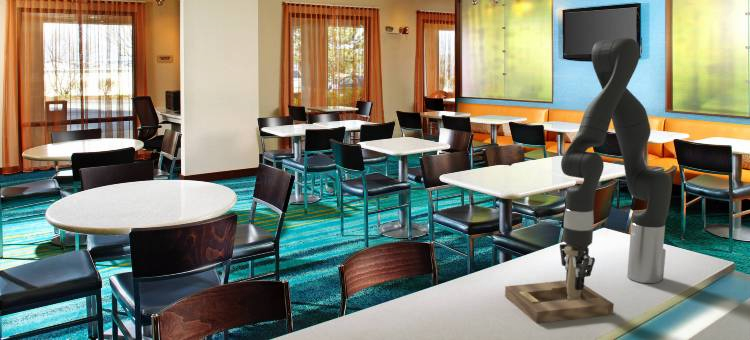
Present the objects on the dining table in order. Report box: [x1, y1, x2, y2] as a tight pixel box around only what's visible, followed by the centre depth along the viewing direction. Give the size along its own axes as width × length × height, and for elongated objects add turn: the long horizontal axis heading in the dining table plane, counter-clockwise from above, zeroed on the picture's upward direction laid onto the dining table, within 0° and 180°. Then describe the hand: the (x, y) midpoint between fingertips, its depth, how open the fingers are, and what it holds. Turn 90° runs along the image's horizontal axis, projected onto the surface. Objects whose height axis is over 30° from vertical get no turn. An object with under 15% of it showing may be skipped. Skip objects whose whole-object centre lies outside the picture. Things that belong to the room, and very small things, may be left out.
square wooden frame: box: [504, 280, 615, 324], centre depth 166 cm, size 22×18×3 cm
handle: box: [564, 246, 590, 301], centre depth 166 cm, size 5×6×15 cm
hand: (574, 286), depth 166 cm, fingers closed on handle, 4 cm apart
